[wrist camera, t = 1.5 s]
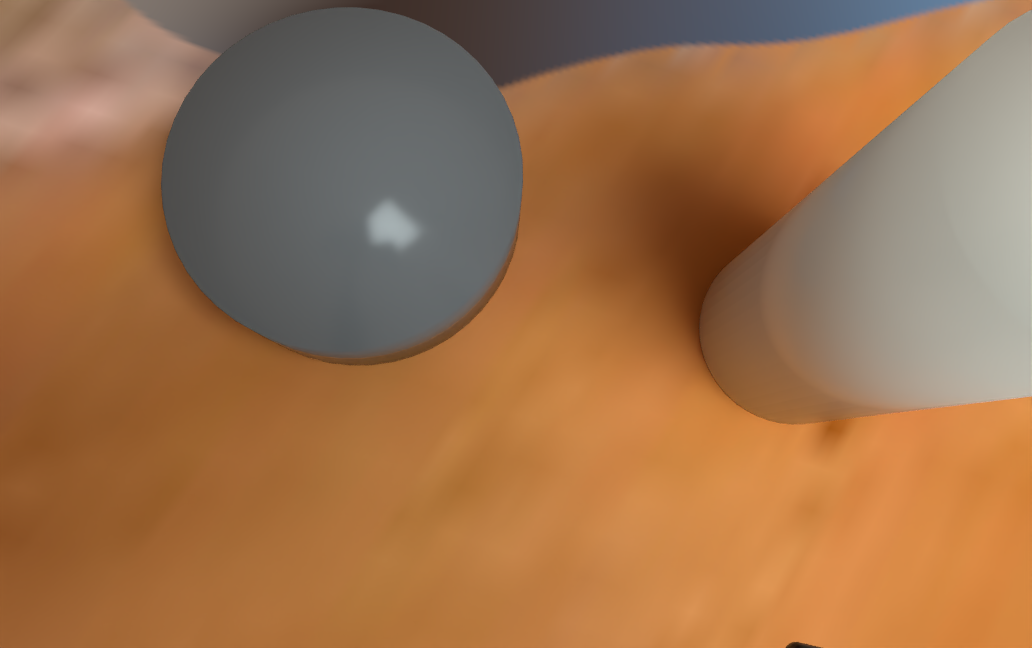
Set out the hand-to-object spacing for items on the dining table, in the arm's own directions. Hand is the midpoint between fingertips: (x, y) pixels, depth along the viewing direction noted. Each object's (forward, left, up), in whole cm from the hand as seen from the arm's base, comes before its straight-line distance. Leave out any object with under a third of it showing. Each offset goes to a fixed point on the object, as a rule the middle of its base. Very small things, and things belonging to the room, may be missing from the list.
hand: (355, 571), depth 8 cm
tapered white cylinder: (-7, -8, -14) cm, 17 cm away
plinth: (+6, -6, -14) cm, 16 cm away
